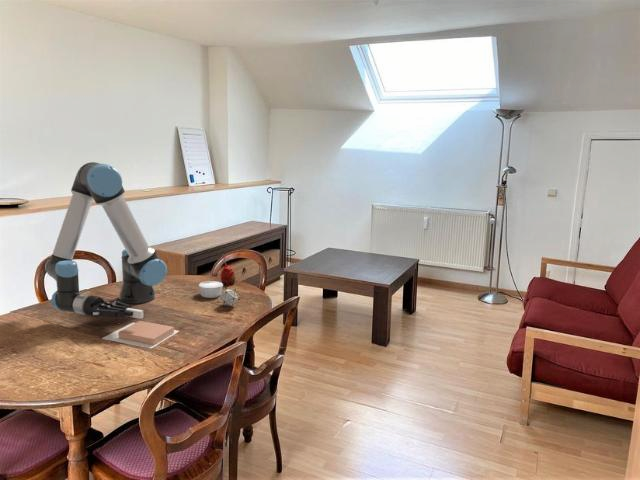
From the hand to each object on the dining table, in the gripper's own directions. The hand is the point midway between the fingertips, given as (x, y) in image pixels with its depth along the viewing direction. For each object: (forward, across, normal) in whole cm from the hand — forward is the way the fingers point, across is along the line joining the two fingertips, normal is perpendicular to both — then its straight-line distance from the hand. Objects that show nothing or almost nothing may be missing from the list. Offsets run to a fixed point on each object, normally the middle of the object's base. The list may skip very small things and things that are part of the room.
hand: (142, 314), depth 179 cm
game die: (+13, -42, -9) cm, 45 cm away
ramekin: (-2, -52, -9) cm, 53 cm away
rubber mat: (0, 0, -8) cm, 9 cm away
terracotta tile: (-6, 0, -7) cm, 9 cm away
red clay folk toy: (-4, -71, -9) cm, 72 cm away
